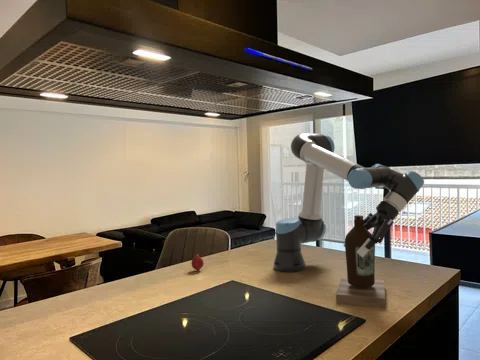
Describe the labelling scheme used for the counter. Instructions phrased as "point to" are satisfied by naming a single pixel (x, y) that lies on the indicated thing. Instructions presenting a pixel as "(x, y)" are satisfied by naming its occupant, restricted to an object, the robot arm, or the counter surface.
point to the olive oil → (357, 266)
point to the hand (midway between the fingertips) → (352, 251)
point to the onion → (197, 262)
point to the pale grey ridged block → (361, 294)
